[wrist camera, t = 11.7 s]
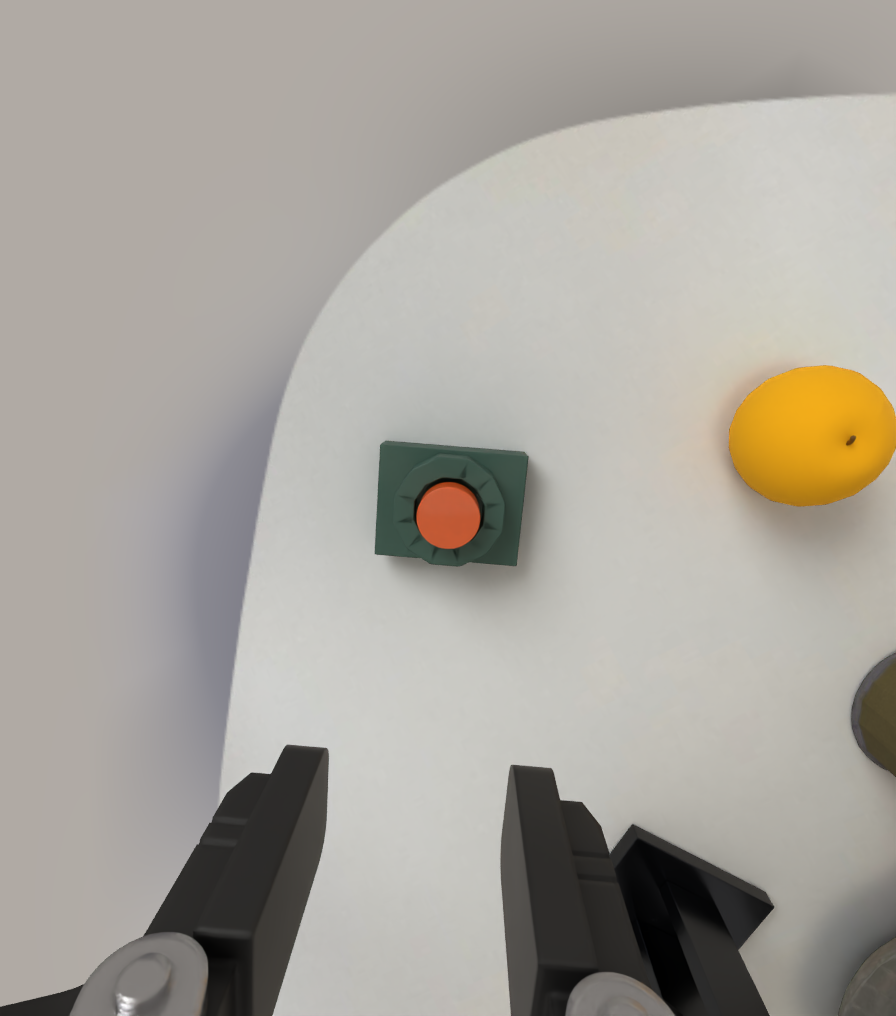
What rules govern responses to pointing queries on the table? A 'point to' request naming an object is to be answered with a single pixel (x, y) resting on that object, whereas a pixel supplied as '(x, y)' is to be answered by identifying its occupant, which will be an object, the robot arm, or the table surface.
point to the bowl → (873, 985)
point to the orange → (813, 435)
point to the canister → (877, 715)
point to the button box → (480, 470)
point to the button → (448, 515)
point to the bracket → (690, 925)
